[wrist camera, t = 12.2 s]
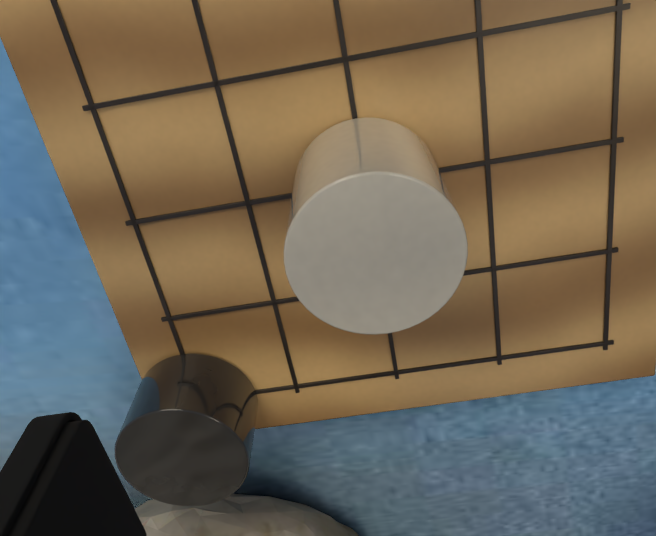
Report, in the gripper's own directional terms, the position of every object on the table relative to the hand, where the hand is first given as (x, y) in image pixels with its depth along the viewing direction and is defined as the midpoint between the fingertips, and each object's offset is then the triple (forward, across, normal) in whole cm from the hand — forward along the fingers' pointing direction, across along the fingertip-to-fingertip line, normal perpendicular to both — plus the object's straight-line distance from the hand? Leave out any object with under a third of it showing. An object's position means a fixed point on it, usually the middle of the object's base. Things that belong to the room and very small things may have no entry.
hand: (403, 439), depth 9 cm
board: (+14, 0, +1) cm, 14 cm away
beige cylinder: (+12, 0, +1) cm, 12 cm away
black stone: (+12, +8, +9) cm, 17 cm away
